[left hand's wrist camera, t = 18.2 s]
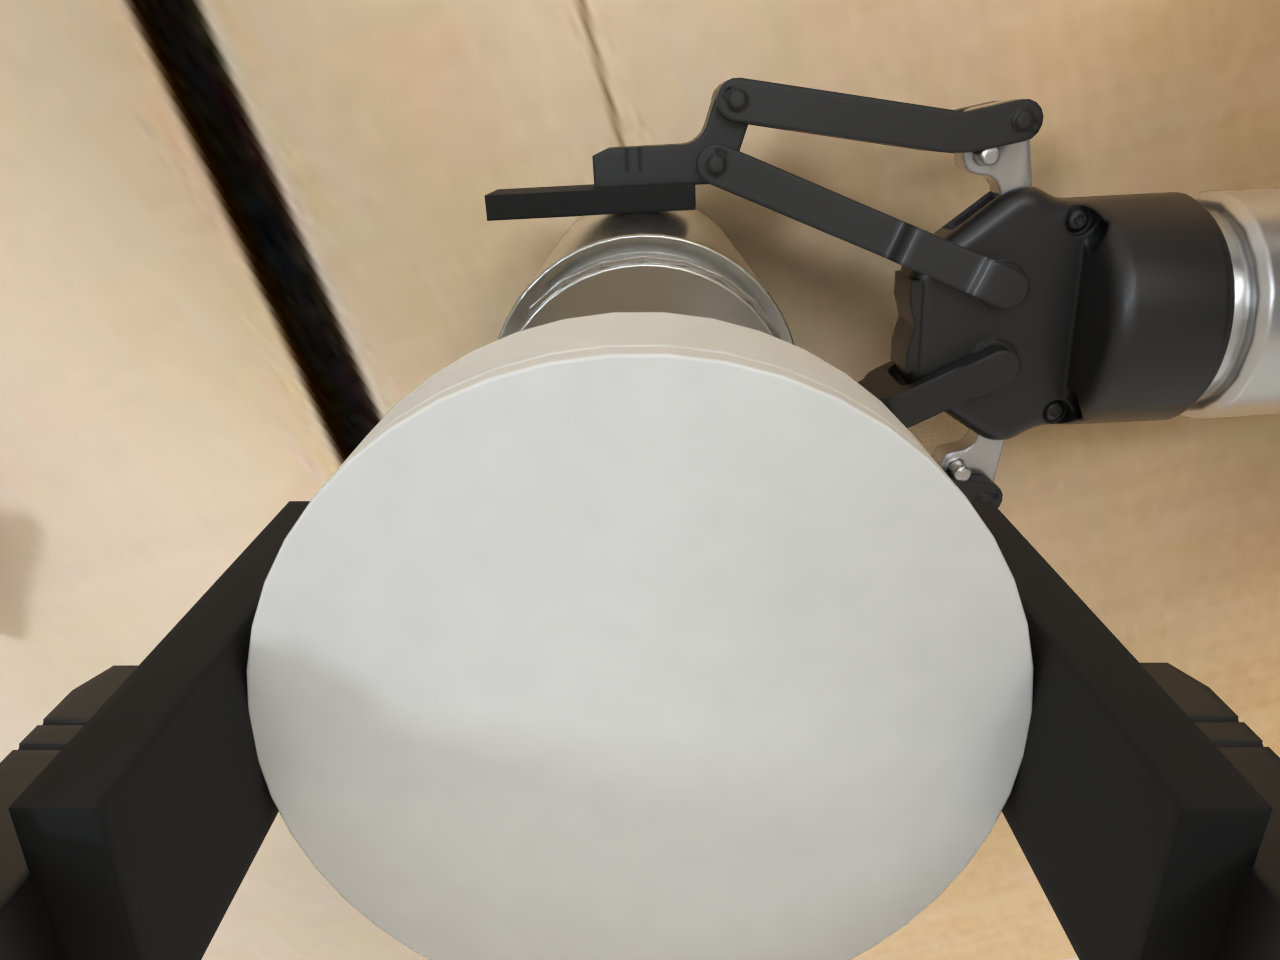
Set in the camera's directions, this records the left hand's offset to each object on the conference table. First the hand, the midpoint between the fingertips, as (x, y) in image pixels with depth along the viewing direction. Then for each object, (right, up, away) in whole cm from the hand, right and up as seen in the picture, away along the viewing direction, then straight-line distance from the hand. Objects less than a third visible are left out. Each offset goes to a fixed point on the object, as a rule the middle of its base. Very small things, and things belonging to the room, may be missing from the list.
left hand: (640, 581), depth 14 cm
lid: (0, -1, -3) cm, 3 cm away
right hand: (-4, +6, +17) cm, 19 cm away
